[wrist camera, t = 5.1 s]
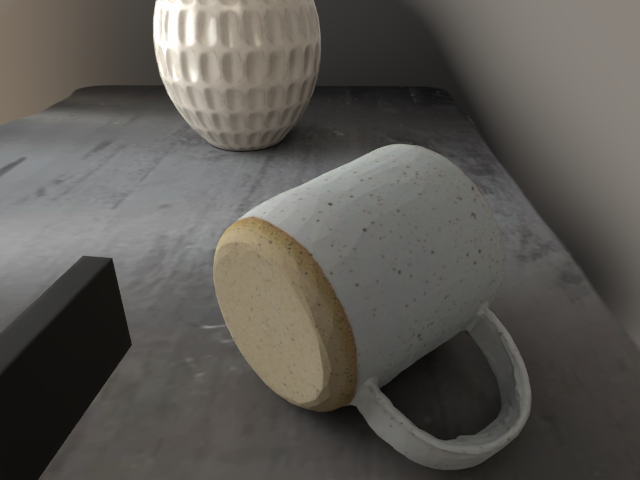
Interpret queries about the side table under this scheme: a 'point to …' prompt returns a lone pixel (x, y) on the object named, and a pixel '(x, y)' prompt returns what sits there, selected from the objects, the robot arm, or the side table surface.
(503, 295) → the side table surface
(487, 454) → the ceramic mug
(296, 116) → the vase
